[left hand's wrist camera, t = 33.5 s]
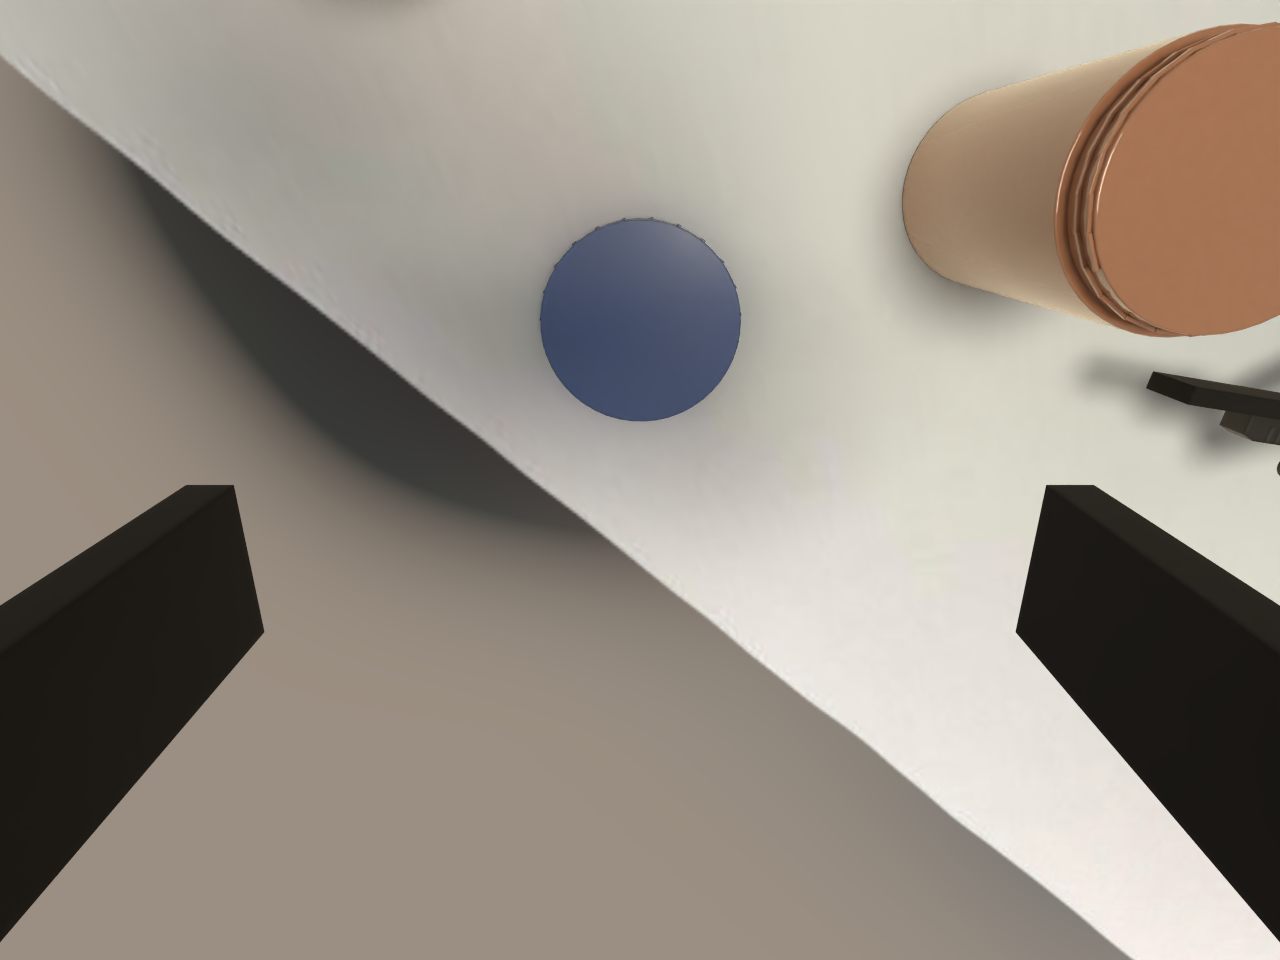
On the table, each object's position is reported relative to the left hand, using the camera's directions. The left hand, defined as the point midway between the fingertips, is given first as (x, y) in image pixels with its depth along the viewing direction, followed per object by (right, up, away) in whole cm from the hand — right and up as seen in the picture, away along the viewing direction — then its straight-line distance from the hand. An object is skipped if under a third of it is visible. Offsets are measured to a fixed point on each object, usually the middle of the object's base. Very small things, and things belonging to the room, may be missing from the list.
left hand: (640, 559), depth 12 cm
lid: (0, +9, +23) cm, 25 cm away
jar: (+16, +15, +23) cm, 32 cm away
